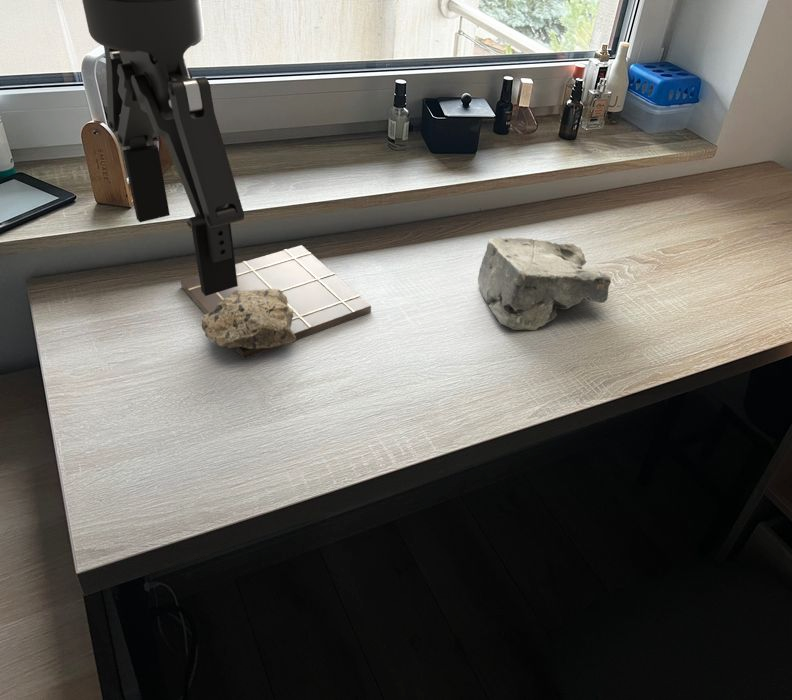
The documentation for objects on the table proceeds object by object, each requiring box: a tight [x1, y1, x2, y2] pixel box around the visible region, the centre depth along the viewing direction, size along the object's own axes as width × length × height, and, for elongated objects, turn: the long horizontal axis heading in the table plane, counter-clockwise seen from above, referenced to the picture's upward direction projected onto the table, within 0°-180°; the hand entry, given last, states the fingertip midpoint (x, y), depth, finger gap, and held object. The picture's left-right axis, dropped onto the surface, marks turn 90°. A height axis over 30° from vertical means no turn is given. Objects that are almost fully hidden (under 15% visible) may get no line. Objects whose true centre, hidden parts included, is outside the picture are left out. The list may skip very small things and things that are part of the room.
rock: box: [201, 289, 297, 349], centre depth 96 cm, size 11×12×4 cm
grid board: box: [179, 244, 372, 360], centre depth 106 cm, size 20×20×1 cm
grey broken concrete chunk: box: [477, 236, 612, 331], centre depth 111 cm, size 16×18×10 cm
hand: (184, 251), depth 62 cm, fingers open, 13 cm apart
